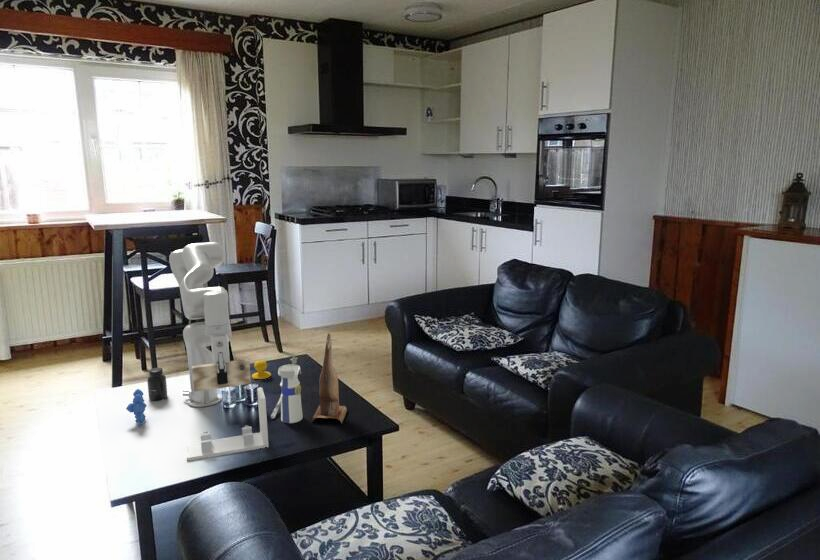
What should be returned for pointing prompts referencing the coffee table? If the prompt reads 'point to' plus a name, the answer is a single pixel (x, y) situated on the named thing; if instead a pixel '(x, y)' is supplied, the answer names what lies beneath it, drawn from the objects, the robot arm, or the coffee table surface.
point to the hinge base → (233, 438)
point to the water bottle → (290, 392)
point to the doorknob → (261, 370)
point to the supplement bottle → (157, 385)
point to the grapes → (138, 406)
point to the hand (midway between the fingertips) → (222, 381)
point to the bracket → (276, 409)
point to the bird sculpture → (329, 388)
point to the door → (208, 375)
